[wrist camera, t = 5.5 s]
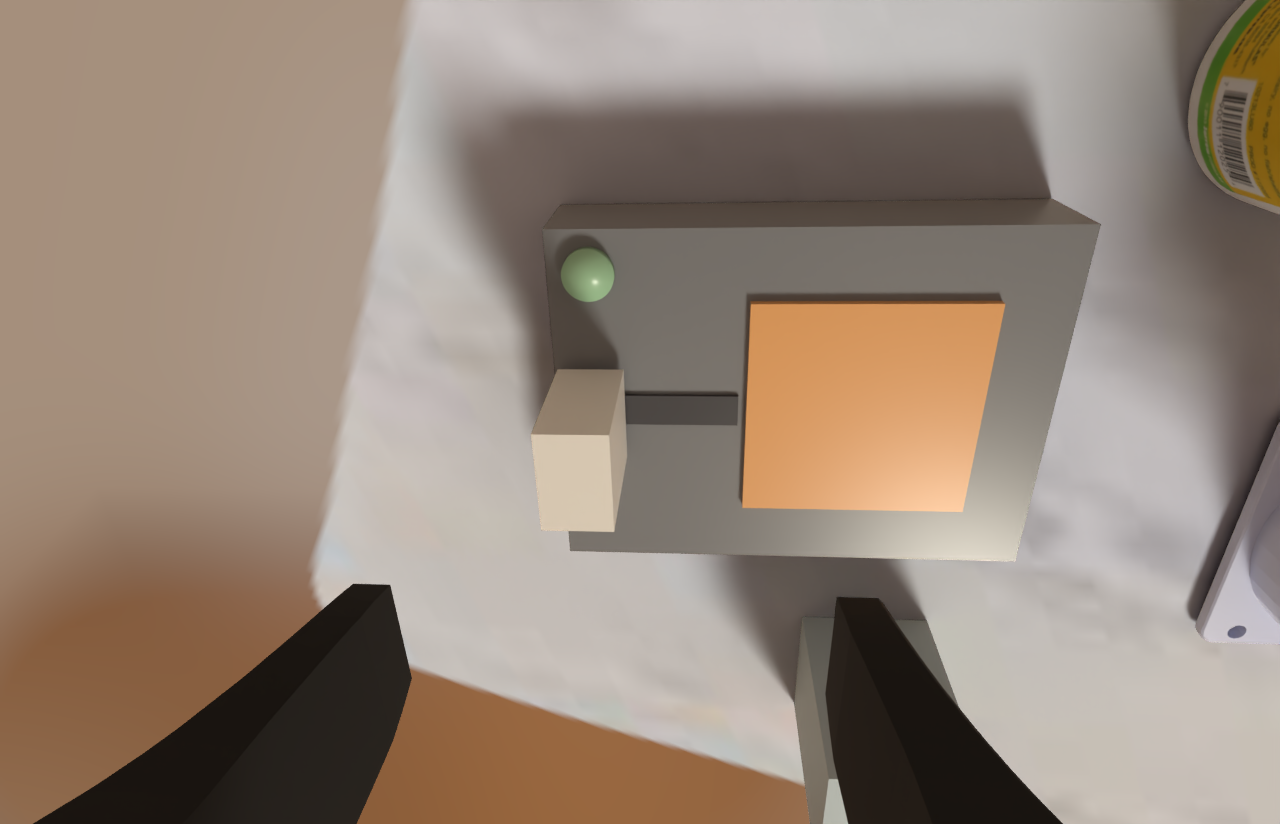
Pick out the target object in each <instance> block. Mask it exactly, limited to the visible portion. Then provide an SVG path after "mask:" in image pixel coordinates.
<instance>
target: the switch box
mask: <svg viewBox="0 0 1280 824" xmlns="http://www.w3.org/2000/svg"><path fill="white" fill-rule="evenodd" d="M1100 225H1101V224H1099V223H1097V222H1096V221H1094V220H1092V219H1090V218H1088V217H1086V216H1084V215H1082V214H1080V213H1079V212H1077V211H1075V210H1073V209H1071V208H1069V207H1067V206H1065V205H1063V204H1062V203H1060V202H1058V201H1056V200H1054V199H993V200H909V201H825V202H741V203H657V204H574V205H560V206H559V207H558V209H557V210H556V211H555V213H554V214H553V215H552V217H551V218H550V220H549V221H548V222H547V224H546V225H545V226H544V228H543V229H542V234H543V245H544V257H545V268H546V279H547V291H548V302H549V314H550V325H551V336H552V348H553V359H554V371H555V374H556V372H557V369H604V370H624V391H625V416H626V440H627V460H626V466H625V471H624V477H623V483H622V489H621V495H620V501H619V507H618V513H617V519H616V525H615V531H614V532H594V531H569V542H570V551H596V552H638V553H681V554H723V555H765V556H808V557H850V558H893V559H935V560H978V561H1015V560H1016V556H1017V552H1018V548H1019V544H1020V540H1021V536H1022V532H1023V528H1024V524H1025V520H1026V516H1027V512H1028V509H1029V505H1030V501H1031V497H1032V493H1033V489H1034V485H1035V481H1036V477H1037V473H1038V469H1039V465H1040V461H1041V457H1042V453H1043V449H1044V446H1045V442H1046V438H1047V434H1048V430H1049V426H1050V422H1051V418H1052V414H1053V410H1054V406H1055V402H1056V398H1057V394H1058V390H1059V387H1060V383H1061V379H1062V375H1063V371H1064V367H1065V363H1066V359H1067V355H1068V351H1069V347H1070V343H1071V339H1072V335H1073V331H1074V328H1075V324H1076V320H1077V316H1078V312H1079V308H1080V304H1081V300H1082V296H1083V292H1084V288H1085V284H1086V280H1087V276H1088V272H1089V269H1090V265H1091V261H1092V257H1093V253H1094V249H1095V245H1096V241H1097V237H1098V233H1099V229H1100Z"/></svg>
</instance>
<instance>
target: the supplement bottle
mask: <svg viewBox="0 0 1280 824" xmlns="http://www.w3.org/2000/svg"><path fill="white" fill-rule="evenodd" d="M1188 131H1189V137H1190V143H1191V147H1192V150H1193V153H1194V155H1195V158H1196V160H1197V162H1198V164H1199V166H1200V168H1201V169H1202V170H1203V172H1204V173H1205V174H1206V176H1207V177H1208V178H1209V179H1210V180H1211V181H1212V182H1213V183H1214V184H1215V185H1216V186H1217V187H1219V188H1220V189H1221V190H1223V191H1224V192H1225V193H1227V194H1228V195H1230V196H1232V197H1234V198H1236V199H1238V200H1241V201H1243V202H1246V203H1248V204H1251V205H1254V206H1256V207H1259V208H1262V209H1265V210H1267V211H1270V212H1273V213H1275V214H1278V215H1280V0H1245V1H1244V2H1243V3H1242V4H1241V6H1240V7H1239V8H1238V9H1237V10H1236V11H1235V12H1234V13H1233V14H1232V16H1231V17H1230V18H1229V19H1228V20H1227V21H1226V23H1225V24H1224V25H1223V27H1222V28H1221V30H1220V31H1219V32H1218V34H1217V35H1216V37H1215V39H1214V40H1213V42H1212V43H1211V45H1210V47H1209V48H1208V50H1207V52H1206V54H1205V56H1204V58H1203V60H1202V62H1201V64H1200V67H1199V69H1198V72H1197V75H1196V78H1195V81H1194V85H1193V88H1192V93H1191V97H1190V104H1189V111H1188Z"/></svg>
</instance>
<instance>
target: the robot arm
mask: <svg viewBox="0 0 1280 824" xmlns="http://www.w3.org/2000/svg"><path fill="white" fill-rule="evenodd" d="M1234 626H1235V627H1234ZM1232 627H1233V628H1232ZM1195 628H1196V630H1197V632H1198V633H1199V634H1200V636H1201V637H1202V638H1203V639H1204V640H1206V641H1208V642H1214V643H1246V644H1278V645H1280V422H1279V424H1278V425H1277V428H1276V430H1275V433H1274V435H1273V437H1272V440H1271V442H1270V445H1269V447H1268V449H1267V452H1266V454H1265V457H1264V459H1263V462H1262V464H1261V466H1260V469H1259V471H1258V474H1257V476H1256V479H1255V481H1254V483H1253V486H1252V488H1251V491H1250V493H1249V495H1248V498H1247V500H1246V503H1245V505H1244V508H1243V510H1242V512H1241V515H1240V517H1239V520H1238V522H1237V525H1236V527H1235V529H1234V532H1233V534H1232V537H1231V539H1230V541H1229V544H1228V546H1227V549H1226V551H1225V554H1224V556H1223V558H1222V561H1221V563H1220V566H1219V568H1218V571H1217V573H1216V575H1215V578H1214V580H1213V583H1212V585H1211V587H1210V590H1209V592H1208V595H1207V597H1206V600H1205V602H1204V604H1203V607H1202V609H1201V612H1200V614H1199V617H1198V619H1197V621H1196V626H1195ZM1230 628H1231V629H1230ZM411 679H412V677H411V673H410V669H409V664H408V660H407V656H406V651H405V647H404V643H403V638H402V634H401V630H400V625H399V621H398V617H397V612H396V608H395V604H394V599H393V595H392V591H391V586H390V585H376V584H353V585H351V586H350V587H349V588H348V589H346V590H345V591H344V592H343V593H341V594H340V595H339V596H338V597H337V598H336V599H334V600H333V601H332V602H331V603H330V604H329V605H327V606H326V607H325V608H324V609H323V610H322V611H320V612H319V613H318V614H317V615H316V616H315V617H314V618H312V619H311V620H310V621H309V622H308V623H307V624H306V625H304V626H303V627H302V628H301V629H300V630H299V631H297V632H296V633H295V634H294V635H293V636H292V637H291V638H290V639H288V640H287V641H286V642H285V643H283V644H282V645H281V646H280V647H279V648H278V649H277V650H275V651H274V652H273V653H272V654H271V655H269V656H268V657H267V658H266V659H265V660H264V661H262V662H261V663H260V664H259V665H257V666H256V667H255V668H254V669H253V670H252V671H250V672H249V673H248V674H247V675H246V676H244V677H243V678H242V679H241V680H239V681H238V682H237V683H236V684H234V685H233V686H232V687H231V688H229V689H228V690H227V691H225V692H224V693H223V694H221V695H220V696H219V697H218V698H216V699H215V700H214V701H213V702H211V703H210V704H209V705H207V706H206V707H205V708H204V709H202V710H201V711H200V712H199V713H197V714H196V715H195V716H193V717H192V718H191V719H190V720H188V721H187V722H186V723H184V724H183V725H182V726H181V727H179V728H178V729H177V730H175V731H174V732H172V733H171V734H170V735H168V736H167V737H166V738H165V739H163V740H161V741H160V742H159V743H157V744H156V745H155V746H153V747H152V748H150V749H149V750H147V751H146V752H145V753H143V754H142V755H140V756H139V757H137V758H136V759H134V760H133V761H131V762H130V763H128V764H127V765H126V766H124V767H122V768H121V769H120V770H118V771H117V772H115V773H114V774H112V775H111V776H109V777H108V778H107V779H105V780H103V781H102V782H100V783H99V784H97V785H96V786H94V787H92V788H91V789H89V790H88V791H86V792H84V793H83V794H81V795H80V796H78V797H76V798H75V799H73V800H72V801H70V802H68V803H66V804H65V805H63V806H62V807H60V808H58V809H56V810H55V811H53V812H52V813H50V814H48V815H47V816H45V817H43V818H42V819H40V820H38V821H37V822H35V823H34V824H357V821H358V819H359V817H360V815H361V813H362V810H363V808H364V806H365V804H366V801H367V799H368V797H369V795H370V792H371V790H372V788H373V785H374V783H375V781H376V779H377V776H378V774H379V772H380V769H381V767H382V765H383V763H384V760H385V758H386V756H387V753H388V751H389V749H390V746H391V744H392V742H393V739H394V736H395V732H396V730H397V726H398V723H399V720H400V717H401V714H402V711H403V707H404V704H405V700H406V697H407V693H408V690H409V686H410V682H411ZM825 696H826V704H827V713H828V722H829V730H830V738H831V746H832V753H833V761H834V765H835V769H836V774H837V778H838V782H839V787H840V791H841V795H842V800H843V804H844V808H845V813H846V817H847V821H848V824H1063V823H1062V822H1061V821H1060V820H1059V819H1058V818H1057V817H1056V816H1055V815H1054V814H1053V813H1052V812H1051V811H1050V810H1049V809H1048V808H1047V807H1046V806H1045V805H1044V804H1043V803H1042V802H1041V801H1040V800H1039V799H1038V798H1037V797H1036V796H1035V795H1034V794H1033V793H1032V792H1031V790H1030V789H1029V788H1028V787H1027V786H1026V785H1025V784H1024V783H1023V782H1022V781H1021V780H1020V779H1019V778H1018V776H1017V775H1016V774H1015V773H1014V772H1013V771H1012V770H1011V769H1010V768H1009V766H1008V765H1007V764H1006V763H1005V762H1004V761H1003V760H1002V758H1001V757H1000V756H999V755H998V754H997V753H996V752H995V750H994V749H993V748H992V747H991V746H990V745H989V744H988V742H987V741H986V740H985V739H984V738H983V737H982V735H981V734H980V733H979V732H978V731H977V729H976V728H975V727H974V726H973V725H972V723H971V722H970V721H969V720H968V718H967V717H966V716H965V715H964V713H963V712H962V711H961V710H960V708H959V707H958V706H957V705H956V703H955V702H954V701H953V700H952V698H951V697H950V696H949V694H948V693H947V692H946V691H945V689H944V688H943V687H942V686H941V684H940V683H939V682H938V680H937V679H936V678H935V676H934V675H933V674H932V672H931V671H930V670H929V668H928V667H927V666H926V664H925V663H924V661H923V660H922V659H921V657H920V656H919V655H918V653H917V652H916V650H915V649H914V648H913V646H912V645H911V643H910V642H909V641H908V639H907V638H906V636H905V635H904V633H903V632H902V630H901V629H900V628H899V626H898V625H897V623H896V622H895V620H894V619H893V617H892V616H891V614H890V613H889V611H888V610H887V608H886V607H885V605H884V604H883V603H882V602H881V601H880V600H879V599H878V598H848V597H837V600H836V609H835V617H834V625H833V634H832V642H831V650H830V659H829V667H828V675H827V684H826V692H825Z"/></svg>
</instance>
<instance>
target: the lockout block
mask: <svg viewBox="0 0 1280 824" xmlns="http://www.w3.org/2000/svg"><path fill="white" fill-rule="evenodd" d="M894 620H895V619H894ZM895 622H896V623H897V625H898V626H899V628H900V629H901V630H902V632H903V633H904V635H905V636H906V638H907V639H908V641H909V642H910V643H911V645H912V646H913V648H914V649H915V650H916V652H917V653H918V655H919V656H920V657H921V659H922V660H923V661H924V663H925V664H926V666H927V667H928V668H929V670H930V671H931V672H932V674H933V675H934V676H935V678H936V679H937V680H938V682H939V683H940V684H941V686H942V687H943V688H944V689H945V691H946V692H947V693H948V694H949V696H950V697H951V698H952V700H953V701H954V702H955V703H956V705H957V706H958V704H957V701H956V698H955V696H954V693H953V690H952V688H951V685H950V682H949V680H948V677H947V674H946V671H945V669H944V666H943V663H942V661H941V658H940V655H939V652H938V650H937V647H936V644H935V642H934V639H933V636H932V633H931V631H930V628H929V625H928V623H927V620H895ZM833 625H834V618H826V617H802V623H801V634H800V645H799V655H798V666H797V677H796V688H795V698H794V706H795V713H796V721H797V729H798V736H799V744H800V751H801V759H802V766H803V774H804V781H805V789H806V796H807V803H808V811H809V819H810V824H848V821H847V817H846V813H845V808H844V804H843V800H842V795H841V791H840V787H839V782H838V778H837V774H836V769H835V765H834V761H833V753H832V746H831V738H830V730H829V722H828V713H827V704H826V696H825V692H826V684H827V675H828V667H829V659H830V650H831V642H832V634H833Z"/></svg>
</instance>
